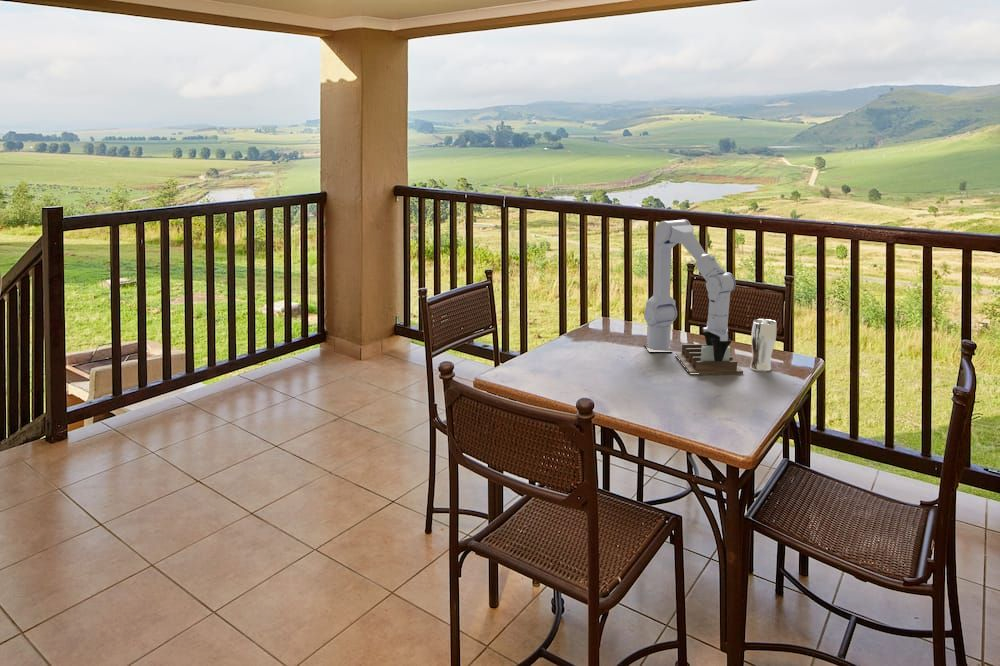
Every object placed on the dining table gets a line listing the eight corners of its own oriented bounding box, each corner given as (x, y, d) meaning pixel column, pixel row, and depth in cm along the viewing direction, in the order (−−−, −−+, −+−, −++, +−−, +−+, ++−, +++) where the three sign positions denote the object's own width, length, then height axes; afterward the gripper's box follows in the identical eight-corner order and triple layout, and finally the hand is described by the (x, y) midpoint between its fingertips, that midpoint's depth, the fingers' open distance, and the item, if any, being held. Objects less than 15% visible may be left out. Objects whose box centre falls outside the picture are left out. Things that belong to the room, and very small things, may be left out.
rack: (675, 355, 212) (676, 344, 211) (724, 355, 212) (725, 343, 211) (689, 374, 195) (690, 362, 194) (742, 374, 195) (744, 361, 194)
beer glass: (746, 370, 198) (751, 323, 194) (749, 363, 204) (754, 317, 200) (771, 373, 195) (776, 325, 190) (773, 366, 201) (778, 320, 196)
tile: (699, 367, 198) (701, 345, 196) (726, 367, 198) (728, 345, 196) (701, 369, 196) (703, 347, 194) (728, 369, 196) (730, 347, 194)
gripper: (698, 308, 199) (695, 350, 203) (711, 320, 185) (708, 365, 189) (721, 307, 199) (717, 349, 203) (736, 320, 185) (732, 364, 189)
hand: (714, 357), depth 196 cm, fingers open, 6 cm apart
